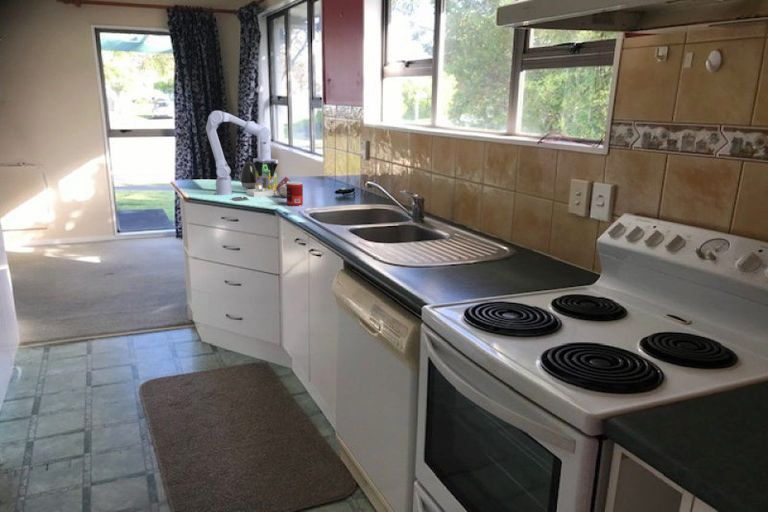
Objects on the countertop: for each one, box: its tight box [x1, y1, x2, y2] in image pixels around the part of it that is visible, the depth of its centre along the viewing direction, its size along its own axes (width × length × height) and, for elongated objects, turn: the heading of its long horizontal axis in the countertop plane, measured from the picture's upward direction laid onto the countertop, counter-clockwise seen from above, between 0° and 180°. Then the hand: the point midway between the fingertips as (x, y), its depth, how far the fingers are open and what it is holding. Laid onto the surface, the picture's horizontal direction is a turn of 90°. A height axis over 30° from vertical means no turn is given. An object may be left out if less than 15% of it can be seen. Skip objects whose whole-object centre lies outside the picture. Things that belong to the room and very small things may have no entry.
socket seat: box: [229, 196, 250, 202], centre depth 294 cm, size 8×8×1 cm
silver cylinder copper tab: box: [254, 182, 263, 192], centre depth 308 cm, size 4×4×6 cm
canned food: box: [286, 181, 304, 207], centre depth 282 cm, size 8×8×11 cm
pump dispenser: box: [240, 161, 257, 189], centre depth 336 cm, size 10×10×15 cm
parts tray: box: [246, 188, 275, 198], centre depth 310 cm, size 11×11×3 cm
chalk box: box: [255, 163, 278, 192], centre depth 325 cm, size 9×9×15 cm
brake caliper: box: [274, 176, 292, 199], centre depth 303 cm, size 11×11×12 cm
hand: (266, 176), depth 312 cm, fingers open, 7 cm apart
